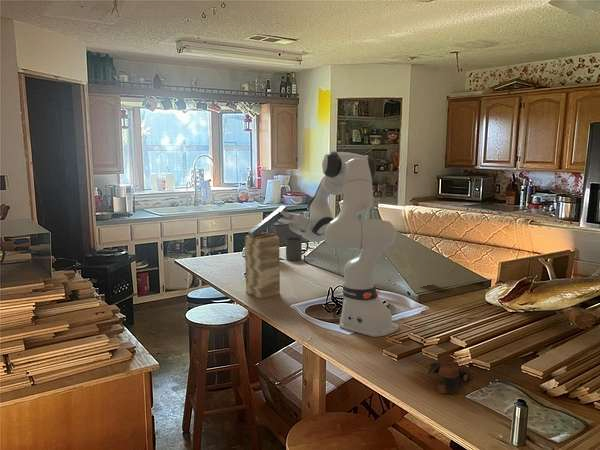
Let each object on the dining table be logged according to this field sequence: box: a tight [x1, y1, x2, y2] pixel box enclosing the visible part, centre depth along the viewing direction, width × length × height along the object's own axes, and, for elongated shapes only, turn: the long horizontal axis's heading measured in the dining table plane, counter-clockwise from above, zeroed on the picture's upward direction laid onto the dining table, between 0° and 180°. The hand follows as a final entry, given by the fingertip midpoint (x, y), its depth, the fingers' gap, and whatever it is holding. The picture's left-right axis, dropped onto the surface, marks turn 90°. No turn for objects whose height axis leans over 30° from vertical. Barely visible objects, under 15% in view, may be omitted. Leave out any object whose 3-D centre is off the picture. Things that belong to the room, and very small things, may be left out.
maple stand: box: [244, 231, 281, 300], centre depth 214 cm, size 12×10×27 cm
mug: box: [285, 237, 309, 262], centre depth 280 cm, size 14×9×12 cm
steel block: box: [247, 205, 289, 238], centre depth 213 cm, size 3×21×3 cm, turn 130°
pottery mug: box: [427, 361, 475, 395], centre depth 132 cm, size 12×10×8 cm
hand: (277, 211), depth 216 cm, fingers closed on steel block, 3 cm apart
